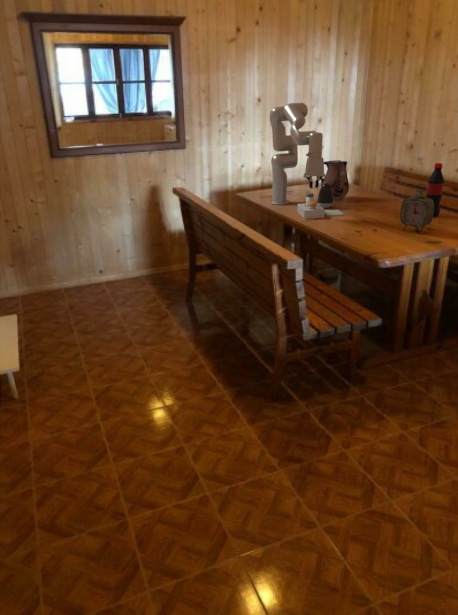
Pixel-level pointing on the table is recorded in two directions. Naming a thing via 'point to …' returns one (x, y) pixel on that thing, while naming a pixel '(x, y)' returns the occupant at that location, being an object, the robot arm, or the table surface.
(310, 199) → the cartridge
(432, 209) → the tabletop clock
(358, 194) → the table surface
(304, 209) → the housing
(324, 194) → the pump dispenser
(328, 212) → the mat
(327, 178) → the ceramic pitcher
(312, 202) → the plunger
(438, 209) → the cola bottle
